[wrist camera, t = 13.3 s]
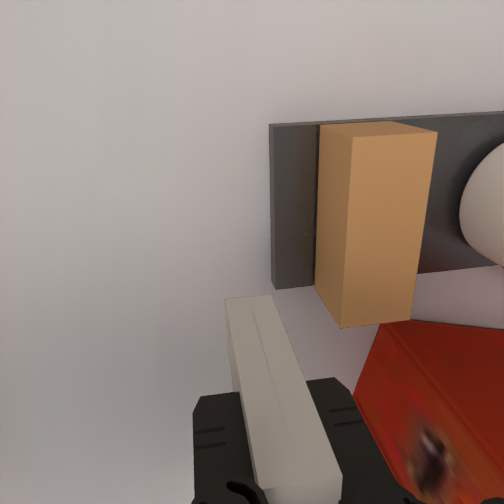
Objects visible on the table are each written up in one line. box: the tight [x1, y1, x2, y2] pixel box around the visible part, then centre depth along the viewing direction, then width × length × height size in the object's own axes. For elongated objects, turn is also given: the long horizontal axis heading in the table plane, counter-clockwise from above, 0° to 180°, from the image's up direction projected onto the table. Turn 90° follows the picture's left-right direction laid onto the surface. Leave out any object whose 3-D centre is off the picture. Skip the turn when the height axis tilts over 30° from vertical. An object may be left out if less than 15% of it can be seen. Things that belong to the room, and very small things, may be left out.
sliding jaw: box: [315, 121, 438, 329], centre depth 22 cm, size 4×10×5 cm, turn 2°
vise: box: [269, 111, 504, 290], centre depth 24 cm, size 26×10×6 cm, turn 92°
